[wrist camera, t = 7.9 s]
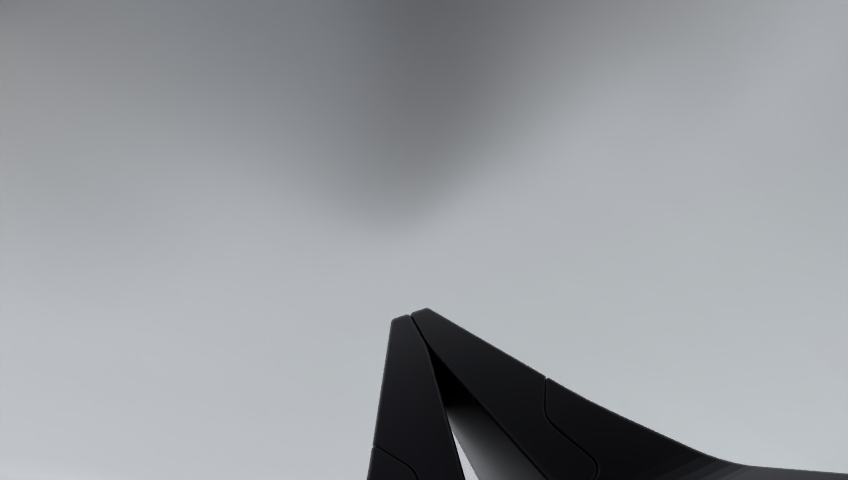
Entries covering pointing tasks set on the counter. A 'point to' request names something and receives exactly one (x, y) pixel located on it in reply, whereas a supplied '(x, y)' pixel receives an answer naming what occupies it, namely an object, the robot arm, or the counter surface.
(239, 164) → the counter surface
